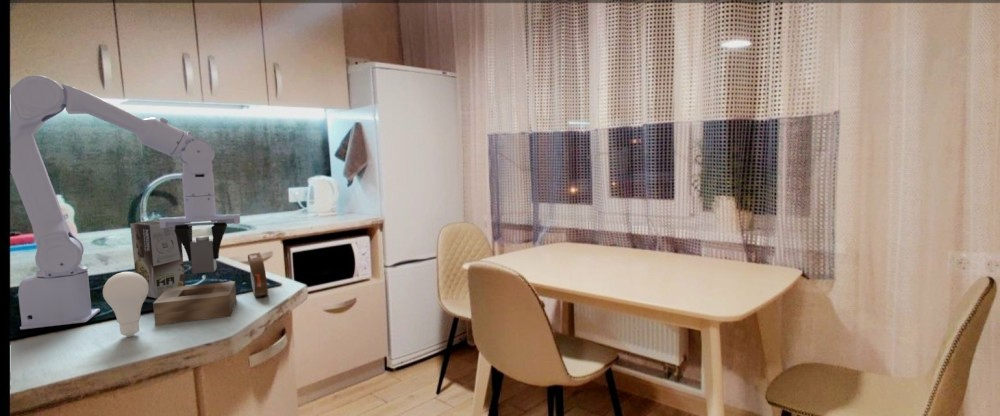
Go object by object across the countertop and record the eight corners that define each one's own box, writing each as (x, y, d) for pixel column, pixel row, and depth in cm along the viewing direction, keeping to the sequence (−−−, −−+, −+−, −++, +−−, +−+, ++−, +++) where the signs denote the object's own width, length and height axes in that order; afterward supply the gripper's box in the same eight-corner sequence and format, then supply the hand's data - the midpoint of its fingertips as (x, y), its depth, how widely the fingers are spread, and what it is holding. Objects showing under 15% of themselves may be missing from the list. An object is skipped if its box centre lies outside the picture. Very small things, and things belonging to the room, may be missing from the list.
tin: (269, 299, 106) (266, 260, 105) (252, 301, 105) (250, 261, 104) (263, 284, 119) (261, 249, 118) (248, 286, 118) (246, 250, 117)
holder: (154, 325, 90) (153, 303, 90) (169, 307, 101) (167, 287, 101) (230, 316, 95) (229, 295, 94) (236, 299, 106) (235, 281, 105)
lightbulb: (111, 334, 86) (104, 270, 85) (154, 328, 89) (148, 266, 88) (104, 345, 80) (97, 278, 79) (150, 338, 83) (144, 273, 82)
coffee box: (187, 292, 113) (181, 220, 111) (155, 299, 107) (149, 224, 106) (167, 287, 118) (161, 218, 116) (135, 294, 112) (129, 222, 111)
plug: (192, 273, 105) (189, 238, 104) (195, 269, 108) (193, 236, 108) (214, 271, 106) (211, 237, 106) (216, 267, 110) (214, 235, 109)
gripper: (153, 198, 99) (159, 266, 101) (236, 195, 105) (240, 259, 106) (161, 196, 106) (166, 259, 107) (239, 193, 111) (243, 253, 113)
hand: (203, 259), depth 107 cm, fingers closed on plug, 4 cm apart
